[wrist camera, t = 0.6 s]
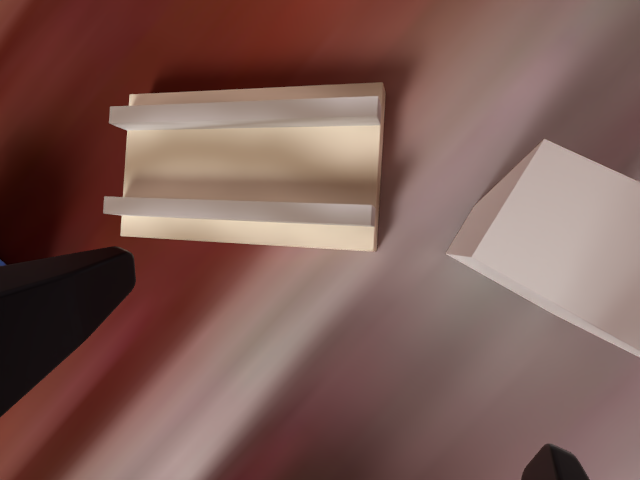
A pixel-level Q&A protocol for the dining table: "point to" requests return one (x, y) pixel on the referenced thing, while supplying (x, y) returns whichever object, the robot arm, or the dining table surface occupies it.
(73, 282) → the robot arm
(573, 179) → the door panel
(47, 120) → the dining table surface
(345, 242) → the track base
